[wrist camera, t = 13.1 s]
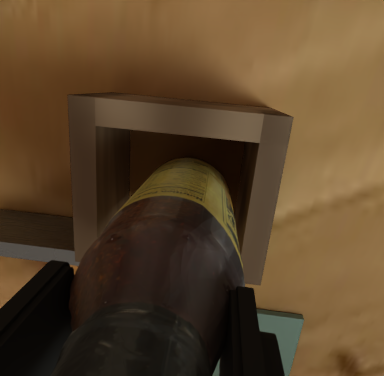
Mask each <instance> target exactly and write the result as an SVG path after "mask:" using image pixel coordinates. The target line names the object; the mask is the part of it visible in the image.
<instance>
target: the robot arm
mask: <svg viewBox="0 0 384 376" xmlns="http://www.w3.org/2000/svg"><path fill="white" fill-rule="evenodd" d="M73 278H74V269H73V267H70V264H69V263H68V262H64V261H56V260H51V261H49V262H48V263H47V264H46V265H45V266H44V267H43V268H42V269H41V270H40V271H39V272H38V273H37V274H36V275H35V276H34V277H33V278H32V279H31V280H30V281H29V282H28V283H27V284H26V285H24V286H23V287H22V288H21V289H20V290H19V291H18V292H17V293H16V294H15V295H14V296H13V297H12V298H11V299H10V300H9V301H8V302H7V303H6V304H5V305H4V306H3V307H2V308H1V309H0V376H50V375H51V373H52V372H53V370H54V368H55V367H56V364H57V361H58V358H59V355H60V352H61V349H62V347H63V345H64V343H65V341H66V340H67V339H68V337H69V336H70V334H71V333H72V328H71V324H70V323H71V318H72V316H71V313H70V310H69V308H68V307H69V300H70V287H71V283H72V281H73ZM219 376H285V373H284V369H283V364H282V359H281V355H280V350H279V345H278V340H277V337H276V335H275V333H268V332H262V331H260V329H259V323H258V316H257V309H256V302H255V295H254V289H253V288H248V287H241V286H237V287H236V290H231V289H230V298H229V316H228V329H227V336H226V341H225V345H224V350H223V352H222V354H221V357H220V364H219Z"/></svg>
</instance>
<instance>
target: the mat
mask: <svg viewBox="0 0 384 376" xmlns="http://www.w3.org/2000/svg"><path fill="white" fill-rule="evenodd" d="M257 316H258V323H259V329H260V331H262V332H268V333H275V335H276V337H277V340H278V345H279V350H280V355H281V359H282V364H283V369H284V373H285V376H289V374H290V370H291V367H292V363H293V359H294V355H295V351H296V348H297V344H298V340H299V336H300V333H301V329H302V325H303V321H304V318H303V316H302V315H299V314H292V313H284V312H277V311H269V310H261V309H257ZM219 364H220V359H219V361H218V364H217V366H216V368H215V371H214V373H213V375H212V376H219Z"/></svg>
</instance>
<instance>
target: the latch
mask: <svg viewBox="0 0 384 376" xmlns="http://www.w3.org/2000/svg"><path fill="white" fill-rule="evenodd" d="M0 256H5V257H12V258H20V259H28V260H36V261H43V262H49V261H51V260H56V261H64V262H68V263H69V264H70V267H73V269H74V275H75V272H76V270H77V268H78V266H79V263H80V262H75V249H74V226H73V218H70V217H62V216H54V215H45V214H37V213H29V212H20V211H12V210H4V209H0Z"/></svg>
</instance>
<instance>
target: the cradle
mask: <svg viewBox="0 0 384 376" xmlns="http://www.w3.org/2000/svg"><path fill="white" fill-rule="evenodd" d="M68 115H69V137H70V159H71V182H72V204H73V226H74V249H75V262H80V261H81V259H82V258H83V256H84V254H85V253H86V251H87V250H88V248H90V246H91V245H92V244H93V242H94V241H95V240H96V239H97V238H98V237H99V236H100V235H101V234H102V233H103V231H104V229H105V227H106V225H107V224H108V222H109V221H110V220H111V219H112V217H113V216H114V215H115V214H116V213H117V212H118V211H119V209H120V208H121V207H122V206H123V205H124V204H125V203H126V202H127V201H128V200H129V172H130V130H140V131H150V132H159V133H169V134H178V135H188V136H198V137H207V138H217V139H226V140H236V141H245V148H244V155H243V161H242V168H241V175H240V181H239V188H238V195H237V201H236V208H235V215H234V217H235V222H236V230H237V237H238V243H239V248H240V254H241V258H242V264H243V272H244V280H245V283H246V284H253V285H261V280H262V275H263V270H264V265H265V259H266V254H267V249H268V244H269V239H270V234H271V229H272V224H273V219H274V214H275V209H276V204H277V199H278V193H279V188H280V183H281V178H282V173H283V168H284V163H285V158H286V153H287V148H288V143H289V138H290V132H291V127H292V122H293V117H292V116H289V115H287V114H285V113H282V112H280V111H277V110H275V109H272V108H266V107H256V106H245V105H235V104H225V103H215V102H204V101H194V100H184V99H174V98H163V97H153V96H143V95H133V94H123V93H112V92H111V93H92V94H74V95H68Z"/></svg>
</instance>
